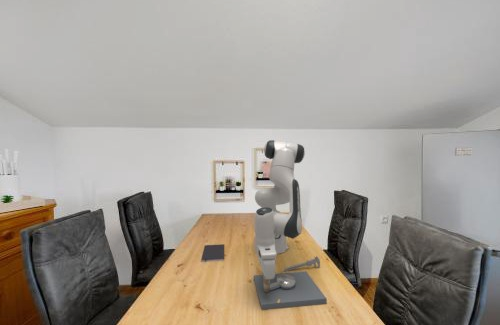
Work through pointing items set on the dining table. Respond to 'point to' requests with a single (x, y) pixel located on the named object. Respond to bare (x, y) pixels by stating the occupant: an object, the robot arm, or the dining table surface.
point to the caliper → (304, 264)
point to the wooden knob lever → (280, 283)
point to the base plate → (289, 292)
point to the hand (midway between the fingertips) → (265, 278)
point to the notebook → (213, 253)
